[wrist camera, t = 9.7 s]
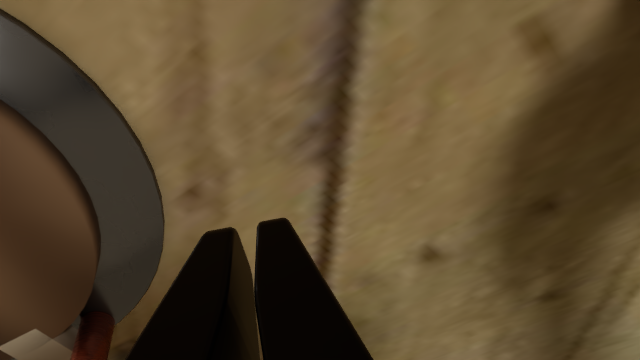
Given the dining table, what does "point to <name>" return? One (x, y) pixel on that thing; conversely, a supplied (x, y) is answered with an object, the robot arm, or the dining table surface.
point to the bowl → (90, 174)
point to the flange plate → (42, 244)
